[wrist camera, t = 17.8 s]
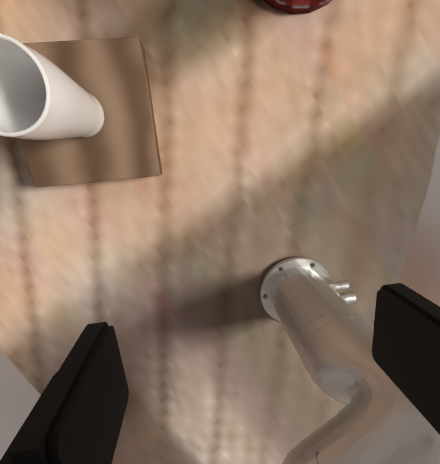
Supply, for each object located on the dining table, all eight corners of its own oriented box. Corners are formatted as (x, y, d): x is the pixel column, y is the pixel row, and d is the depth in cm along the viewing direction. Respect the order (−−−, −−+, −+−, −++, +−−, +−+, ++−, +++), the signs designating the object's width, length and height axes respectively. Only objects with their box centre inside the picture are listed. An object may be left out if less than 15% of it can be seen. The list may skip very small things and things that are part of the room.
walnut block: (144, 49, 35) (138, 36, 31) (162, 173, 40) (159, 175, 36) (16, 57, 34) (-6, 45, 30) (50, 184, 38) (34, 187, 35)
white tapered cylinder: (78, 154, 34) (-4, 155, 20) (41, 103, 32) (-81, 64, 18) (123, 125, 34) (71, 106, 19) (88, 72, 32) (1, 7, 17)
